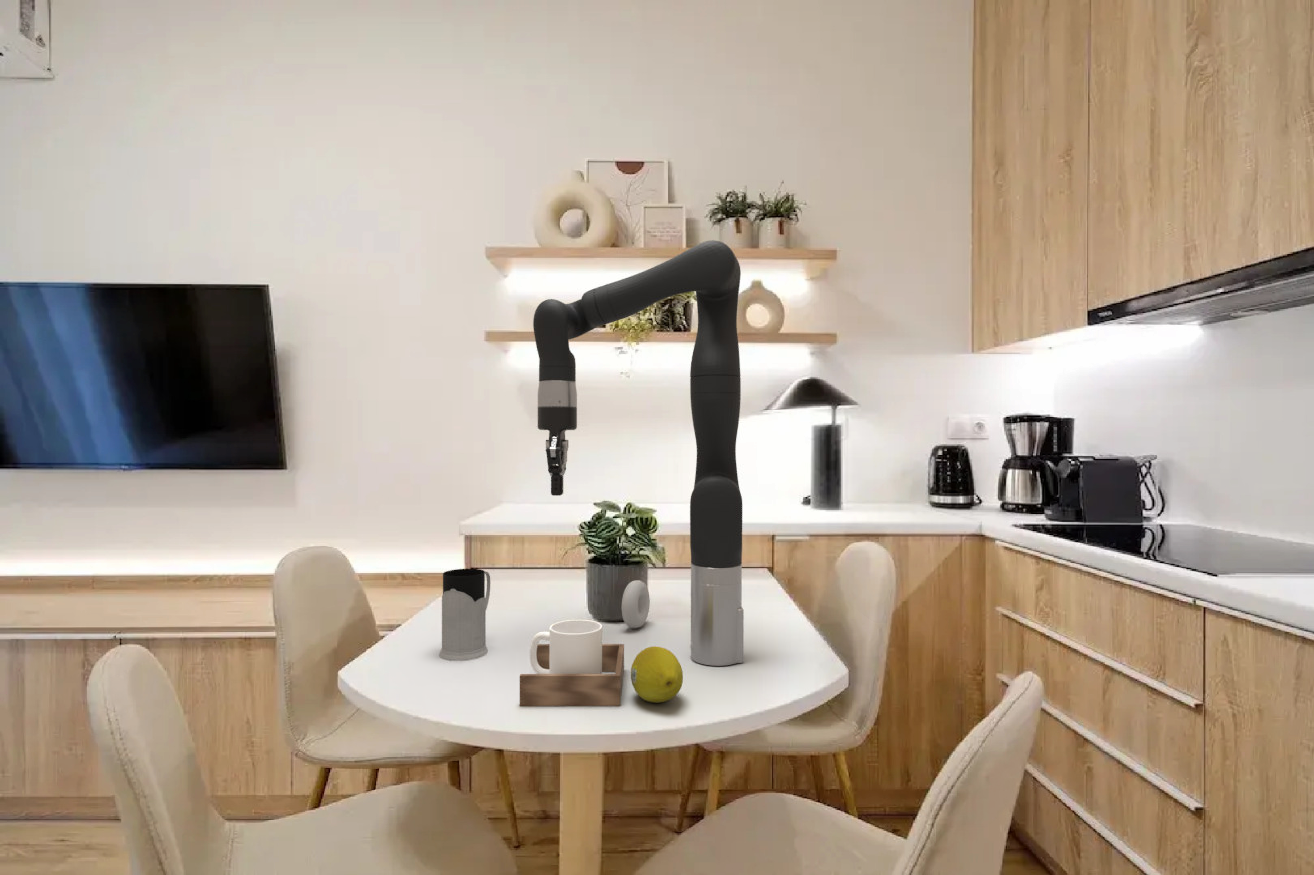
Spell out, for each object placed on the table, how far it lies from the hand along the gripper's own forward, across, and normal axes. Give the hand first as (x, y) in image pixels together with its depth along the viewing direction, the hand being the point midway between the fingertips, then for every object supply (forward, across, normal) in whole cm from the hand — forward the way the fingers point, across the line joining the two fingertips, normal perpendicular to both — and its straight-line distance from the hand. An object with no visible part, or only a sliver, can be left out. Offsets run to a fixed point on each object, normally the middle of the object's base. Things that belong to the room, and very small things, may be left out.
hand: (557, 495), depth 131 cm
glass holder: (+29, -2, +16) cm, 33 cm away
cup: (+29, -23, -4) cm, 37 cm away
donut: (+29, +12, -15) cm, 35 cm away
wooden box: (+29, -22, -6) cm, 37 cm away
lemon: (+29, -28, -19) cm, 45 cm away
